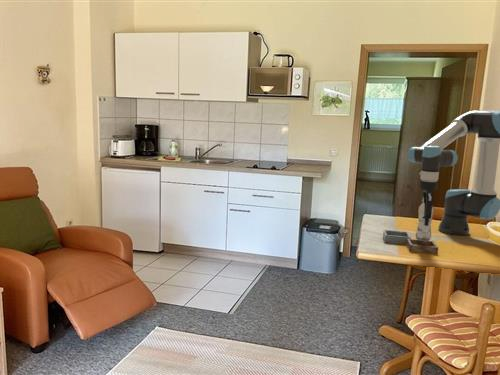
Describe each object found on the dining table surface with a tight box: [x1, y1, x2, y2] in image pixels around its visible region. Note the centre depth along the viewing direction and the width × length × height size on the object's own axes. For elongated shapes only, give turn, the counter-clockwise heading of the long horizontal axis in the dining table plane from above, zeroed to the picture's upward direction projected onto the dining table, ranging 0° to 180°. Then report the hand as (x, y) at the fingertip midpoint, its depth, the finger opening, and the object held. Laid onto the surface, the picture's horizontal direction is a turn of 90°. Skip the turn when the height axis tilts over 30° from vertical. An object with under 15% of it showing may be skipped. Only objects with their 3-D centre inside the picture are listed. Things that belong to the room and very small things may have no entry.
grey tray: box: [382, 229, 412, 245], centre depth 219 cm, size 12×11×4 cm
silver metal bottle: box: [415, 197, 435, 241], centre depth 204 cm, size 6×7×20 cm
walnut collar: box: [405, 238, 439, 255], centre depth 206 cm, size 12×11×3 cm
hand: (423, 230), depth 205 cm, fingers closed on silver metal bottle, 6 cm apart
